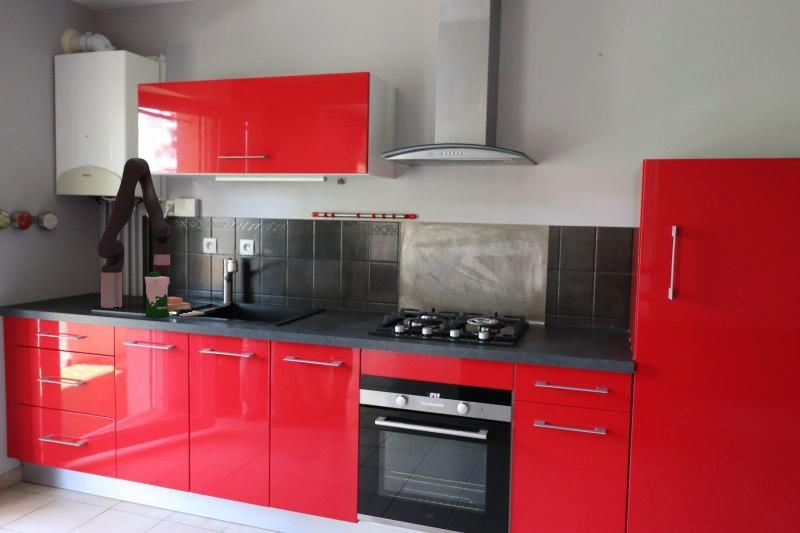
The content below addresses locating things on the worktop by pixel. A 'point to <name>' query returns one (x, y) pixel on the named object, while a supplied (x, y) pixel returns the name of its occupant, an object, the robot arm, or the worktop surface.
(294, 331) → the worktop surface
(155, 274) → the milk carton
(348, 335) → the worktop surface
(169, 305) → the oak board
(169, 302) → the tile
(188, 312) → the mat
